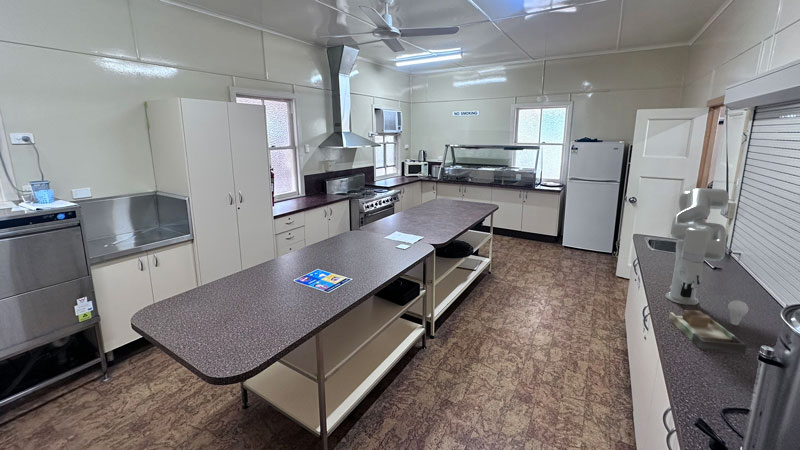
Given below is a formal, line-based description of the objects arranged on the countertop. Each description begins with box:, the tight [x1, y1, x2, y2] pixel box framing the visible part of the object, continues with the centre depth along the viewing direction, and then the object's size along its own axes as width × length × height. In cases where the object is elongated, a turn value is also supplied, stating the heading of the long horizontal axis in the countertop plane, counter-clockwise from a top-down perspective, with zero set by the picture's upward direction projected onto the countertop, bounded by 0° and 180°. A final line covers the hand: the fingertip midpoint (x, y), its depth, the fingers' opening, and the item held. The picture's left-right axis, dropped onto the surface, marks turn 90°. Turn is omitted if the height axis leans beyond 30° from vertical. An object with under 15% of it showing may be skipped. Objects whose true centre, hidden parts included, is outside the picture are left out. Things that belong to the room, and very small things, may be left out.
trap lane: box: [668, 312, 748, 354], centre depth 140 cm, size 23×14×4 cm, turn 169°
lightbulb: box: [727, 300, 749, 326], centre depth 146 cm, size 6×6×11 cm
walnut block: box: [682, 309, 710, 327], centre depth 146 cm, size 6×6×4 cm
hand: (685, 296), depth 152 cm, fingers closed
